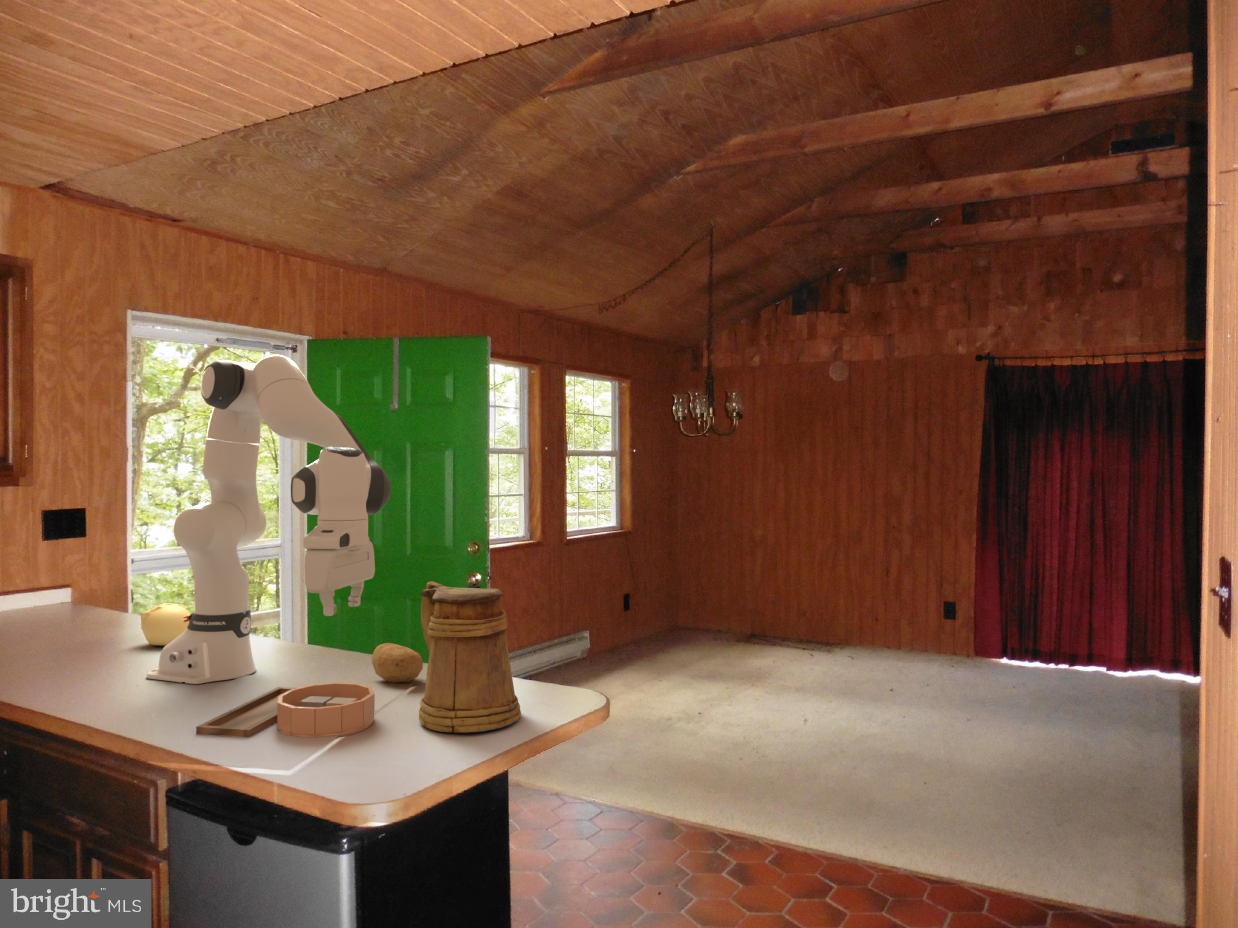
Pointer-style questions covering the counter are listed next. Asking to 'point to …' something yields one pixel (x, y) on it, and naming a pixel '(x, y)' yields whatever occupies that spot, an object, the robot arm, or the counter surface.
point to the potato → (396, 663)
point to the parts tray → (245, 716)
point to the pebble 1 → (315, 701)
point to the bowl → (326, 711)
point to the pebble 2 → (340, 701)
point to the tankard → (466, 661)
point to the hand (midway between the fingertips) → (342, 610)
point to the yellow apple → (164, 623)
